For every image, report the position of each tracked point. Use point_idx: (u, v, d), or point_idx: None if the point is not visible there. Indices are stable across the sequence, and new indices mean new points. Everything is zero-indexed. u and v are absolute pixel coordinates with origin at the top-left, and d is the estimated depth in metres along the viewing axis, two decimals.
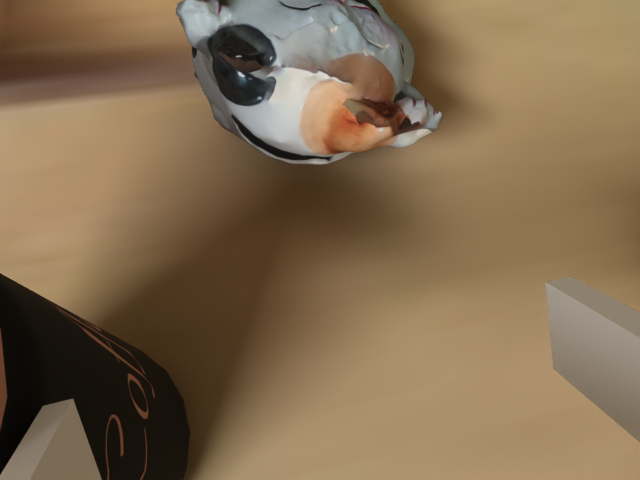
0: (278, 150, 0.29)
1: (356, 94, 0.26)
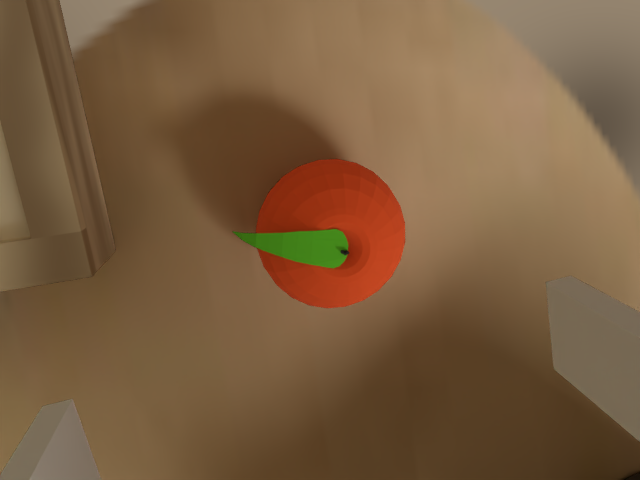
0: None
1: None
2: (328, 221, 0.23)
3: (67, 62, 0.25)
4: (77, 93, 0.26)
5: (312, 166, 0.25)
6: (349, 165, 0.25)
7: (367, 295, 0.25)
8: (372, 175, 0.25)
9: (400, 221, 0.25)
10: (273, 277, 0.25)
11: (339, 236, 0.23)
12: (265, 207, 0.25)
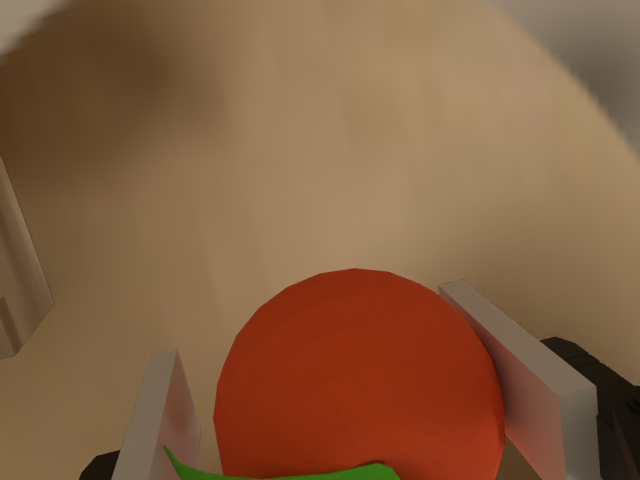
0: None
1: None
2: (359, 449, 0.10)
3: None
4: None
5: (315, 302, 0.12)
6: (390, 295, 0.12)
7: None
8: (437, 310, 0.12)
9: (499, 400, 0.12)
10: None
11: (385, 479, 0.10)
12: (226, 389, 0.12)
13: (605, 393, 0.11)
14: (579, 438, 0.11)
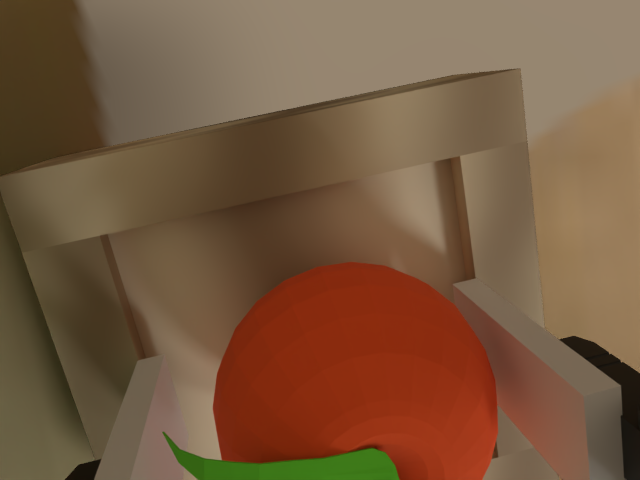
0: None
1: None
2: (353, 434, 0.11)
3: None
4: None
5: (312, 293, 0.12)
6: (385, 286, 0.13)
7: None
8: (431, 302, 0.13)
9: (492, 390, 0.13)
10: None
11: (379, 463, 0.11)
12: (225, 378, 0.13)
13: (628, 393, 0.11)
14: (603, 438, 0.11)
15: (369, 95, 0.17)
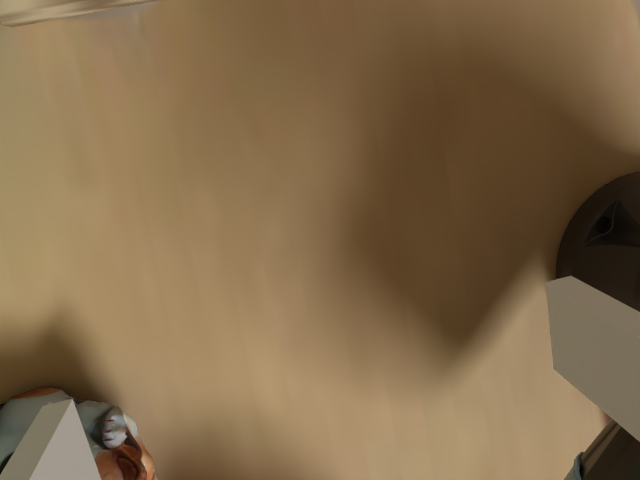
0: None
1: None
2: None
3: None
4: None
5: None
6: None
7: None
8: None
9: None
10: None
11: None
12: None
13: None
14: None
15: None
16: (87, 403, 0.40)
